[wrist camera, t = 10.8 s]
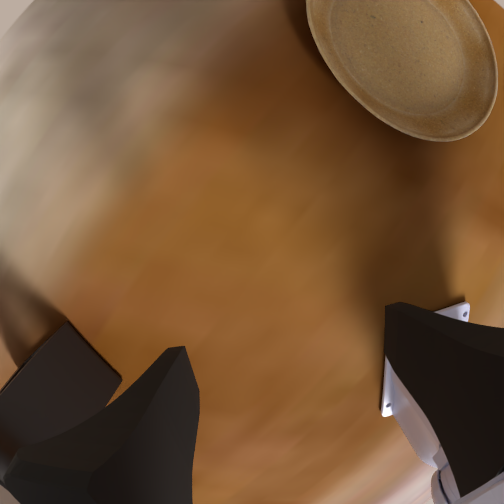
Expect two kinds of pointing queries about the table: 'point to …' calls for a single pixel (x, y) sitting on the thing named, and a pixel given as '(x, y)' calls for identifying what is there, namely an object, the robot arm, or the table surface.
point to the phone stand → (52, 393)
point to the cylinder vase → (6, 497)
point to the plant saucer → (410, 62)
